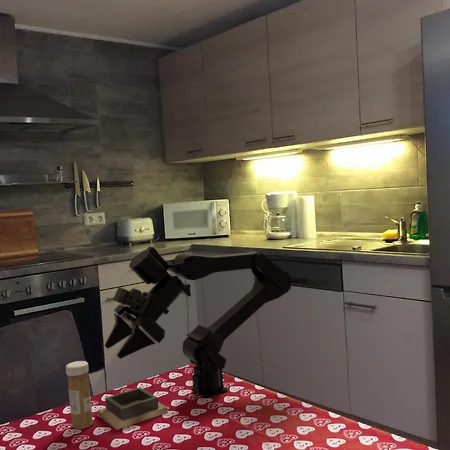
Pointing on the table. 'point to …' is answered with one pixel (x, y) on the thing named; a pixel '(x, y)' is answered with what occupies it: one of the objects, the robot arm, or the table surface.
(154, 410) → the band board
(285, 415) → the table surface
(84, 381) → the sprinkles bottle
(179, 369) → the table surface
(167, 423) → the table surface
